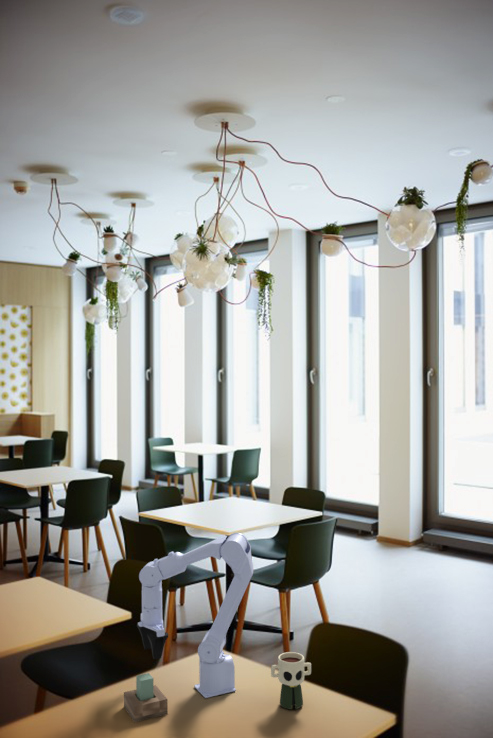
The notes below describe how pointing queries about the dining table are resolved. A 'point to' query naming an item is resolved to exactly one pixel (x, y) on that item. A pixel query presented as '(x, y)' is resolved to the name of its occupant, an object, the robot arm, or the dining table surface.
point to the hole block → (145, 705)
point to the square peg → (144, 687)
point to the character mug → (291, 678)
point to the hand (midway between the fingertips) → (152, 653)
